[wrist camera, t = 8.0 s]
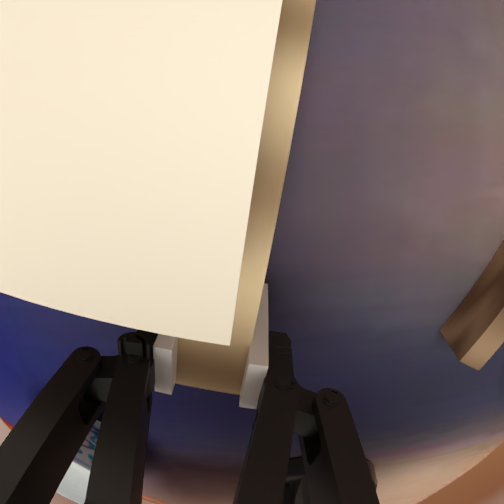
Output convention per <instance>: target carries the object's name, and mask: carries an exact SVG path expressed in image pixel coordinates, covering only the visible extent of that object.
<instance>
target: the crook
mask: <svg viewBox="0 0 504 504" xmlns="http://www.w3.org/2000/svg"><path fill="white" fill-rule="evenodd" d="M315 3H316V0H283V1H282V7H281V14H280V20H279V26H278V32H277V38H276V44H275V50H274V57H273V63H272V69H271V75H270V82H269V88H268V94H267V101H266V107H265V114H264V120H263V126H262V133H261V139H260V146H259V152H258V159H257V165H256V172H255V178H254V185H253V192H252V198H251V205H250V212H249V218H248V225H247V232H246V238H245V245H244V252H243V259H242V266H241V272H240V279H239V286H238V293H237V300H236V307H235V314H234V321H233V327H232V334H231V341H230V346H227V345H221V344H214V343H208V342H202V341H196V340H190V339H185V338H179V337H178V350H177V369H176V382H175V383H176V384H181V385H186V386H191V387H196V388H201V389H207V390H213V391H219V392H225V393H231V394H238V395H240V391H241V386H242V381H243V377H244V372H245V367H246V362H247V357H248V353H249V348H250V344H251V343H252V339H253V334H254V329H255V324H256V320H257V315H258V310H259V305H260V300H261V295H262V291H263V286H264V281H265V276H266V271H267V266H268V261H269V256H270V251H271V246H272V241H273V236H274V231H275V226H276V221H277V215H278V210H279V205H280V200H281V195H282V190H283V184H284V179H285V174H286V168H287V163H288V158H289V152H290V147H291V142H292V136H293V131H294V125H295V120H296V114H297V109H298V103H299V97H300V92H301V86H302V80H303V75H304V69H305V63H306V57H307V51H308V46H309V40H310V34H311V28H312V22H313V16H314V9H315Z"/></svg>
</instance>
